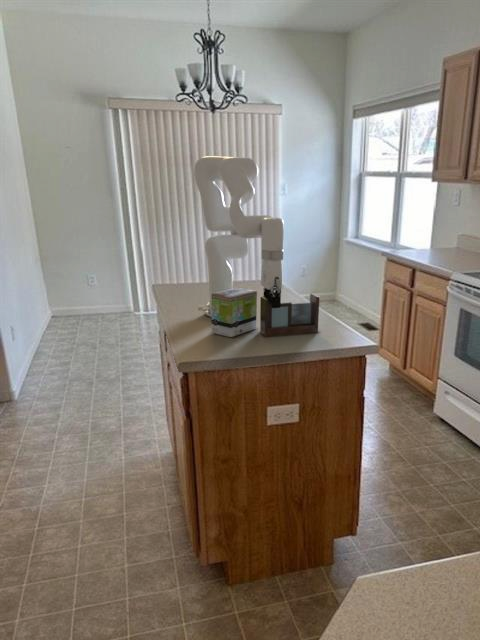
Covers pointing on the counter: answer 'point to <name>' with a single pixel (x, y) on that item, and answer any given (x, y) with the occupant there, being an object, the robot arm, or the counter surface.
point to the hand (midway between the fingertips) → (271, 304)
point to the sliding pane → (280, 314)
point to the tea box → (234, 311)
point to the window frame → (301, 318)
